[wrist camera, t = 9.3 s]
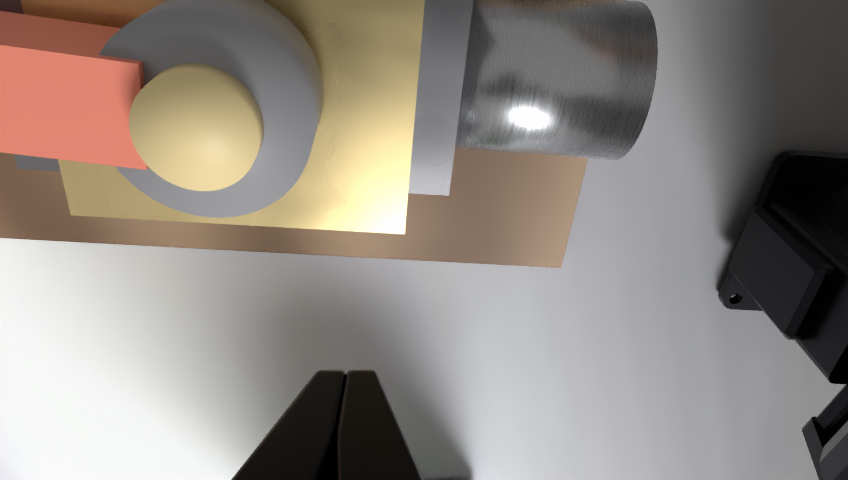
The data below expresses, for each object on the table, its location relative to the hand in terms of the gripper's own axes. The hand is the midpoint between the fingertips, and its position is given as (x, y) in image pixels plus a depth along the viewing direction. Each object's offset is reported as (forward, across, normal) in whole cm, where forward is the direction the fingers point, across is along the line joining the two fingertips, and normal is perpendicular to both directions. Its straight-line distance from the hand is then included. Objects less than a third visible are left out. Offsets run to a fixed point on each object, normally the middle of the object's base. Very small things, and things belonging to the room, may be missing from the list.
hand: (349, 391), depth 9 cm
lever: (+6, +7, -3) cm, 10 cm away
